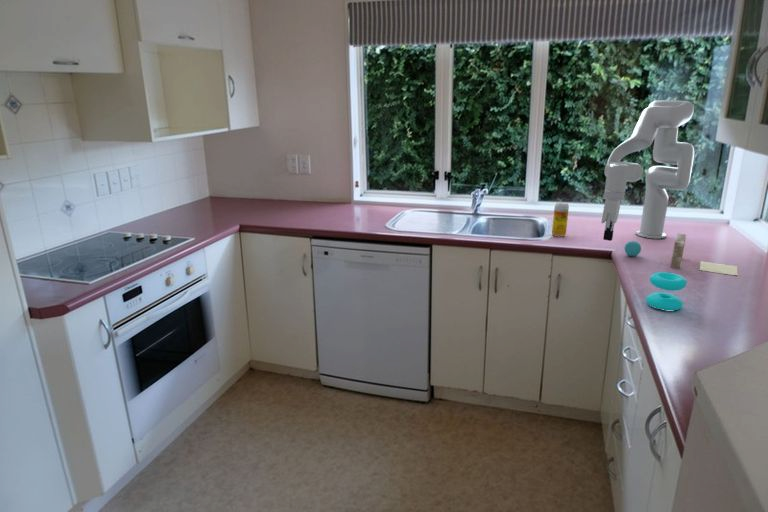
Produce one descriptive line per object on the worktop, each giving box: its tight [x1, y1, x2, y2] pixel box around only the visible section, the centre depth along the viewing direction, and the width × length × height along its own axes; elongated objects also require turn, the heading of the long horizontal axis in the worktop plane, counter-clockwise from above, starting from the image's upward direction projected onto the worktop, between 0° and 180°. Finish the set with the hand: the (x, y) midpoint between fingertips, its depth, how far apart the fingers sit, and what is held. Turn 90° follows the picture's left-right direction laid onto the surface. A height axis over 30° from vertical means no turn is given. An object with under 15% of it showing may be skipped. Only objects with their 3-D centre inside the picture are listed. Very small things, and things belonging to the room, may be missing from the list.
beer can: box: [551, 201, 570, 238], centre depth 241 cm, size 6×6×15 cm
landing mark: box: [699, 261, 739, 277], centre depth 199 cm, size 12×12×1 cm
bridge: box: [670, 233, 687, 269], centre depth 205 cm, size 3×15×10 cm, turn 149°
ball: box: [624, 240, 642, 257], centre depth 213 cm, size 6×6×6 cm
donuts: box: [645, 271, 688, 311], centre depth 163 cm, size 10×10×10 cm
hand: (607, 239), depth 217 cm, fingers closed
